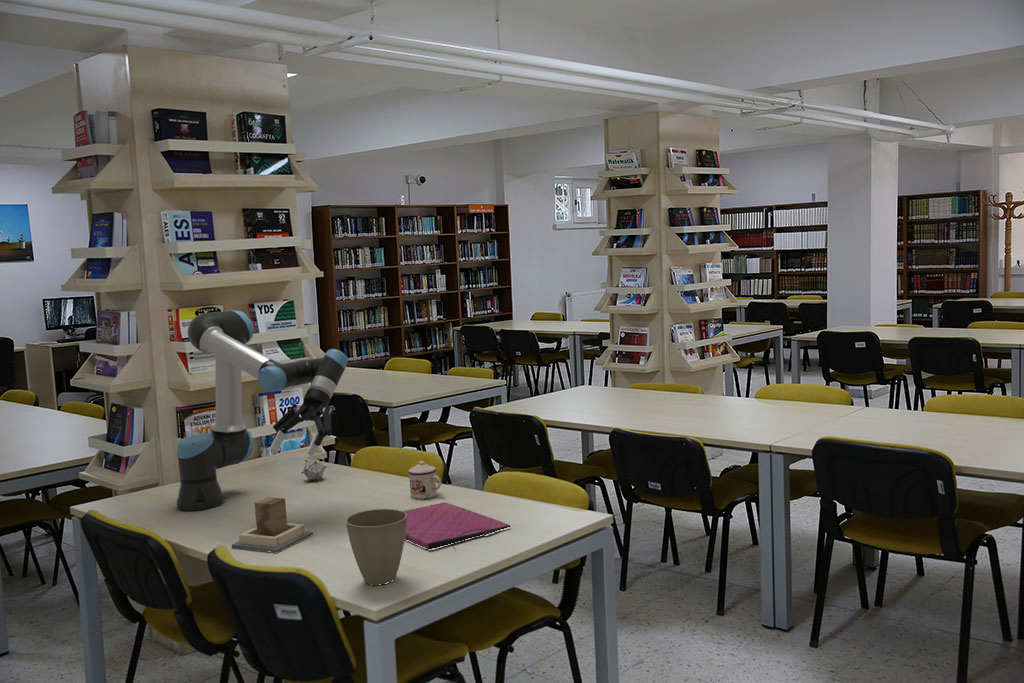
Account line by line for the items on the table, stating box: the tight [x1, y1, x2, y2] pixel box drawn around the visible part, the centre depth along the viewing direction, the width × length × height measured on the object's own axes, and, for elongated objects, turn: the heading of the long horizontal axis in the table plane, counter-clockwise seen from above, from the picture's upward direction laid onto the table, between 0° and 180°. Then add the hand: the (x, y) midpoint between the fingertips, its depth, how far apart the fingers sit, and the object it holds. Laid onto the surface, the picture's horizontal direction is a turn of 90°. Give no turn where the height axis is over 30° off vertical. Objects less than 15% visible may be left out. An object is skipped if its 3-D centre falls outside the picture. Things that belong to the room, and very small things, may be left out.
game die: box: [301, 457, 328, 483], centre depth 321 cm, size 9×8×10 cm
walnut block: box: [254, 496, 288, 537], centre depth 251 cm, size 6×6×11 cm
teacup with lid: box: [408, 460, 442, 500], centre depth 290 cm, size 12×9×12 cm
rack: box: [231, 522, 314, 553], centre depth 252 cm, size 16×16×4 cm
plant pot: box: [345, 508, 407, 586], centre depth 215 cm, size 15×15×16 cm
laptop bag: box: [402, 502, 511, 549], centre depth 256 cm, size 40×4×27 cm
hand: (291, 452), depth 259 cm, fingers open, 13 cm apart
